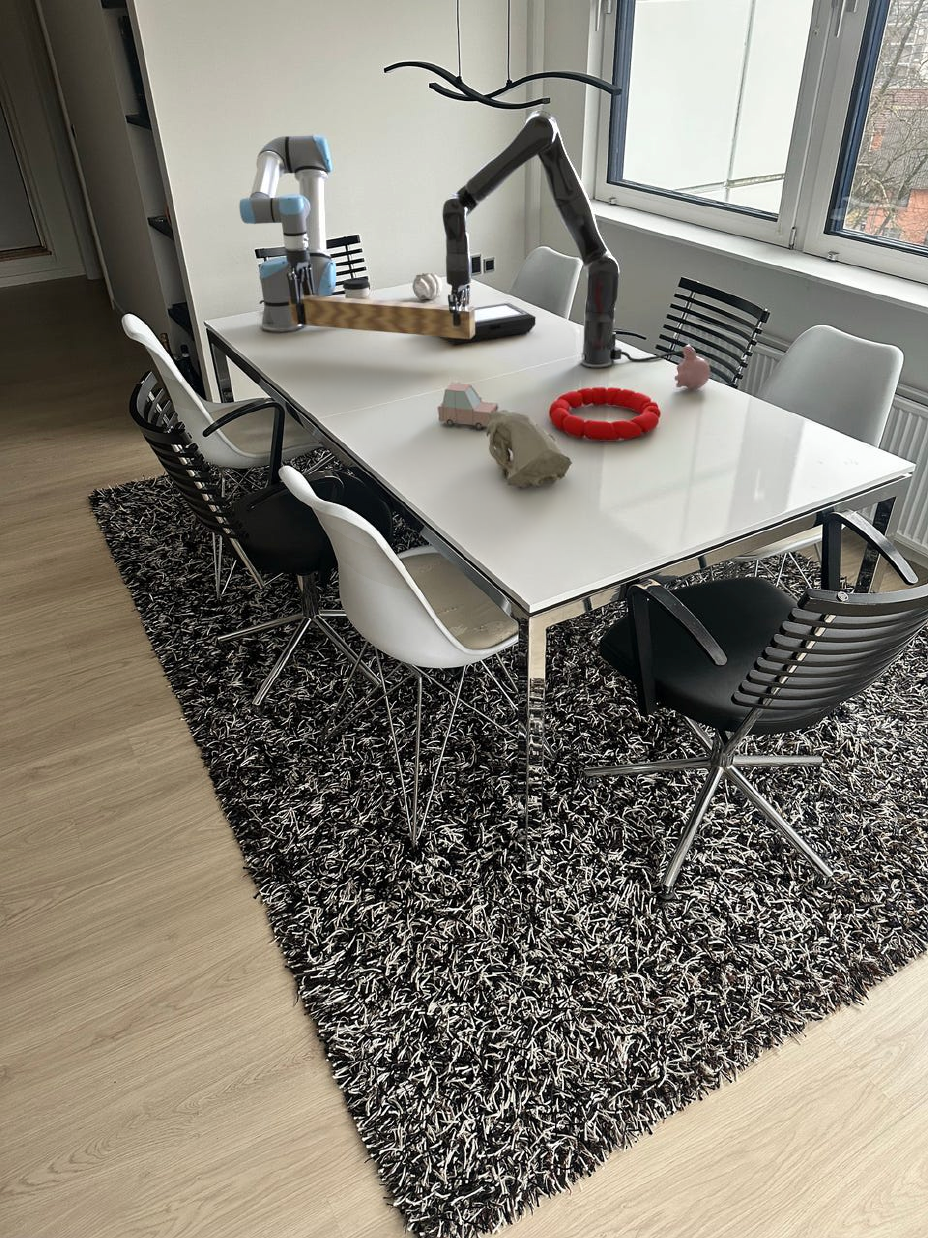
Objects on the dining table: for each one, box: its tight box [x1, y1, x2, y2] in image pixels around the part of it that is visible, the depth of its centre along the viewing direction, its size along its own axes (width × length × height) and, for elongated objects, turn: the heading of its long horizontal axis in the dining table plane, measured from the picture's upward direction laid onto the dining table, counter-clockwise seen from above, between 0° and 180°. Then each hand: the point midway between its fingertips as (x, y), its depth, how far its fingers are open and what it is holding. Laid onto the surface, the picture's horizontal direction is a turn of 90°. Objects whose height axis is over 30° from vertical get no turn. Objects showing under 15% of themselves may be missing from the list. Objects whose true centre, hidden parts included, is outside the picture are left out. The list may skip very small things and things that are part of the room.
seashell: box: [411, 272, 443, 300], centre depth 348 cm, size 10×15×10 cm
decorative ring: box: [548, 386, 661, 442], centre depth 242 cm, size 7×30×30 cm
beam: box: [289, 295, 476, 339], centre depth 289 cm, size 64×5×9 cm, turn 70°
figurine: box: [674, 344, 711, 390], centre depth 259 cm, size 9×11×12 cm
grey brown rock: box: [485, 409, 573, 489], centre depth 216 cm, size 17×25×20 cm
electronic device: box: [443, 302, 537, 345], centre depth 312 cm, size 32×6×20 cm
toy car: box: [437, 382, 499, 431], centre depth 243 cm, size 9×15×10 cm, turn 70°
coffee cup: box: [342, 277, 371, 299], centre depth 323 cm, size 10×10×15 cm
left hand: (306, 321), depth 299 cm, fingers closed on beam, 5 cm apart
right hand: (460, 322), depth 281 cm, fingers closed on beam, 5 cm apart
